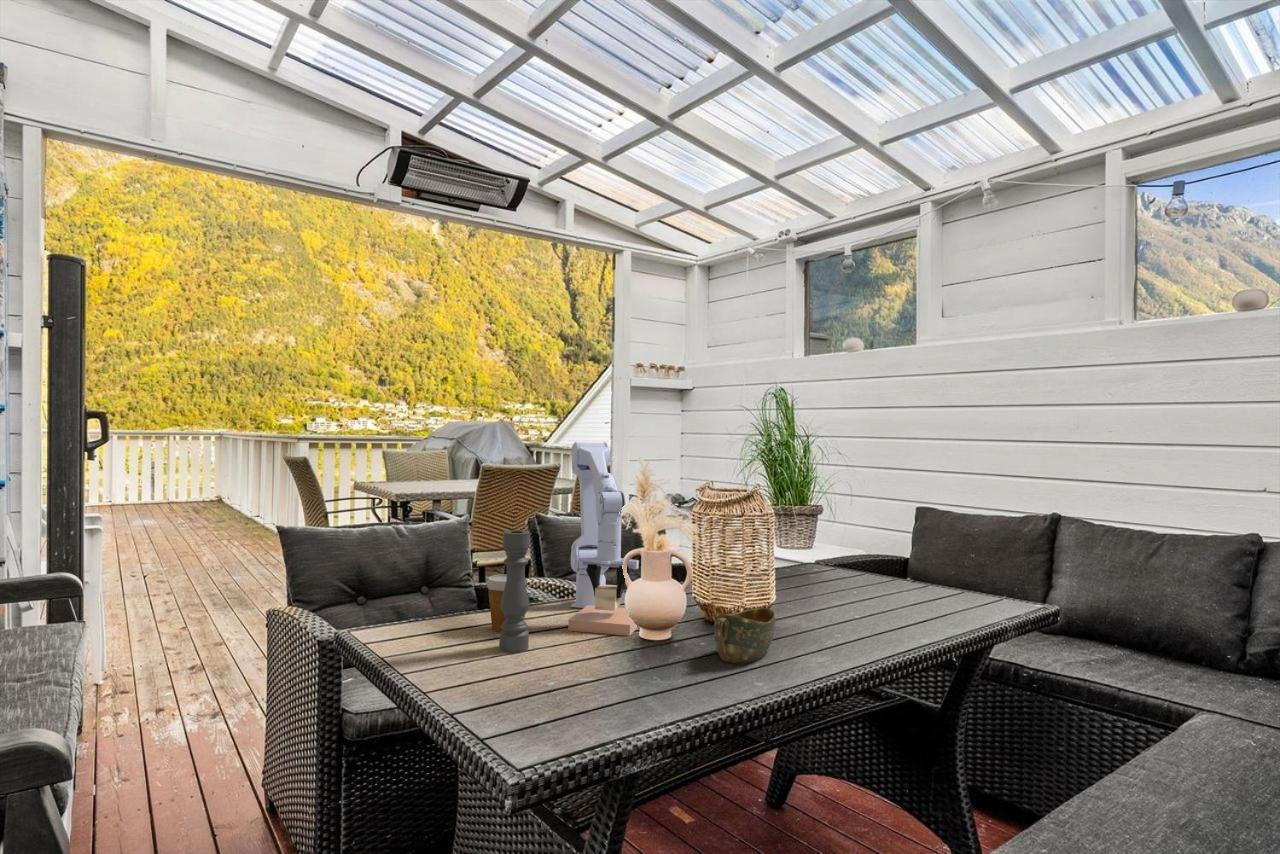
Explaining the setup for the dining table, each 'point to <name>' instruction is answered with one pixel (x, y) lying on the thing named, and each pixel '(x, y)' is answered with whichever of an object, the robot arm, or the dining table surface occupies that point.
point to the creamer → (744, 635)
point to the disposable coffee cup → (496, 599)
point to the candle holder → (515, 593)
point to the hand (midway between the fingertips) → (608, 596)
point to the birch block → (606, 597)
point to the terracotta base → (602, 621)
